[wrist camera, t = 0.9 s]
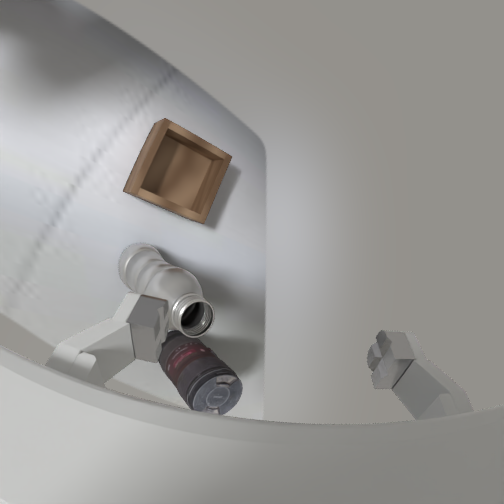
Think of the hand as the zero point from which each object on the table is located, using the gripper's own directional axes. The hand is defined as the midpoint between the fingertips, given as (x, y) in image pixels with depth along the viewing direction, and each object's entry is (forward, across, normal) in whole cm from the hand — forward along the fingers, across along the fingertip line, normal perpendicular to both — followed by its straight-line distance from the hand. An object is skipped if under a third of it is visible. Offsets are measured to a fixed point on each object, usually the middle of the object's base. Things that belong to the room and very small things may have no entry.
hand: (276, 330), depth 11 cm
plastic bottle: (+26, +17, +17) cm, 35 cm away
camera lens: (+26, +11, +32) cm, 42 cm away
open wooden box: (+33, +14, +5) cm, 36 cm away
